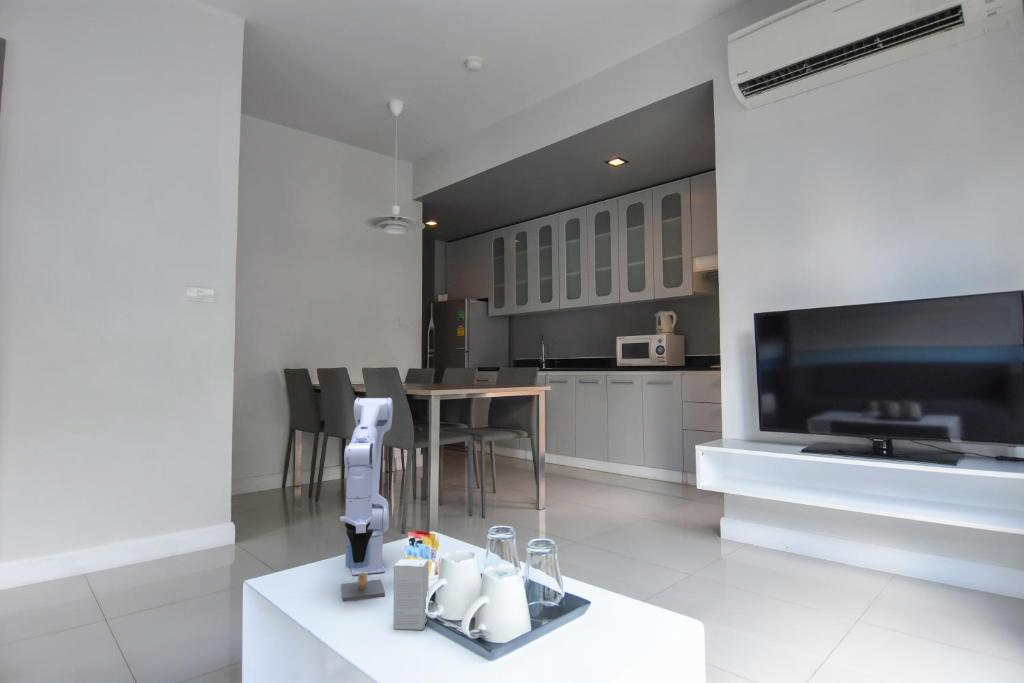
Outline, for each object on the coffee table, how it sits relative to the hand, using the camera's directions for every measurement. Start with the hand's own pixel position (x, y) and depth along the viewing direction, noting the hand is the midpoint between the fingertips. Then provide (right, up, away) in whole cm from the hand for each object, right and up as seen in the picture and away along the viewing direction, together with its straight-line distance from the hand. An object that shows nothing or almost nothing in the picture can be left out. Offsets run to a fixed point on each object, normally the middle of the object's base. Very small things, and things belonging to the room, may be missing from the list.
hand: (357, 558), depth 122 cm
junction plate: (+1, -9, +2) cm, 9 cm away
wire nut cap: (0, -1, 0) cm, 1 cm away
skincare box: (+15, -7, -16) cm, 23 cm away
